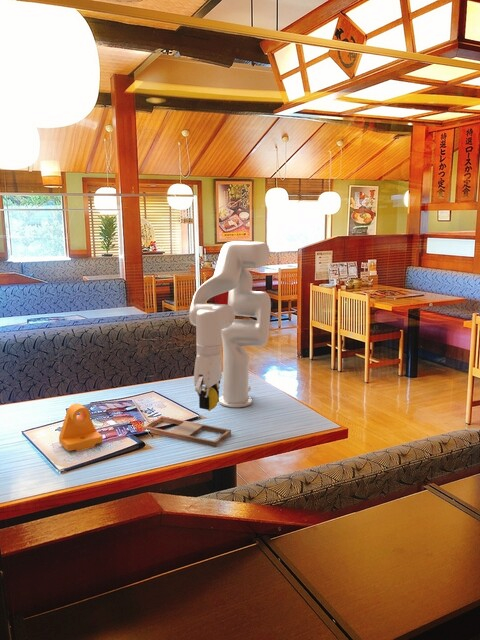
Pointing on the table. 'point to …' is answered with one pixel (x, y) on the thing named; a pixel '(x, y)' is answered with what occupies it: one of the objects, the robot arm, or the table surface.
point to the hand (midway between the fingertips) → (209, 404)
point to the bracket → (78, 430)
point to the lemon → (212, 398)
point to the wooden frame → (187, 431)
